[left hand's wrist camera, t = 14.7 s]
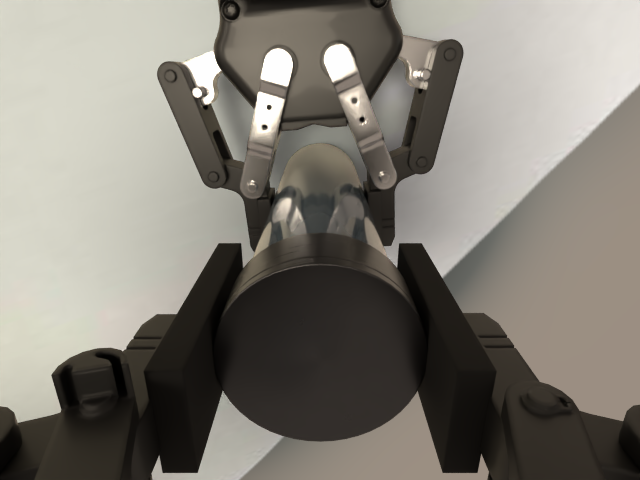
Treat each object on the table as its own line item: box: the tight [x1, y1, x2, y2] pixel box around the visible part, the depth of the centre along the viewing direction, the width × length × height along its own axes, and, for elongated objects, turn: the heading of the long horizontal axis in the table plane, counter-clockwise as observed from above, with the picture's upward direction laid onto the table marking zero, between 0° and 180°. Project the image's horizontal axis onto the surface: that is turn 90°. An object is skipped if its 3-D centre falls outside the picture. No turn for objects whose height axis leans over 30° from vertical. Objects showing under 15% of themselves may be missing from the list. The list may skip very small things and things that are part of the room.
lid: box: [213, 233, 428, 441], centre depth 11 cm, size 5×5×2 cm
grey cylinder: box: [253, 143, 388, 258], centre depth 20 cm, size 5×5×18 cm
